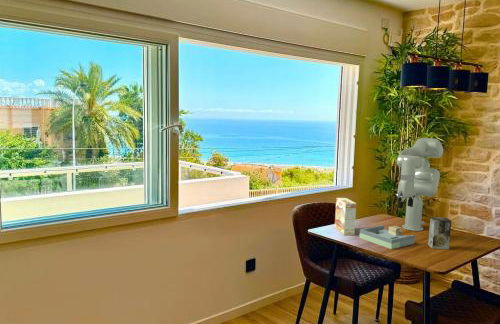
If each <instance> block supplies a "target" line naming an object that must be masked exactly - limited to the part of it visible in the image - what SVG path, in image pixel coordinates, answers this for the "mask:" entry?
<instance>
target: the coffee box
mask: <svg viewBox="0 0 500 324" xmlns="http://www.w3.org/2000/svg"><path fill="white" fill-rule="evenodd" d="M451 228H452V220H451V219H450V218H449V217H439V216H438V217H435V216H430V219H429V229H428V230H429V231H428V243H427V245H428V246H429V247H430V248H431V249H437V250H450V242H451V241H450V240H451V231H452V230H451Z"/></svg>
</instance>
